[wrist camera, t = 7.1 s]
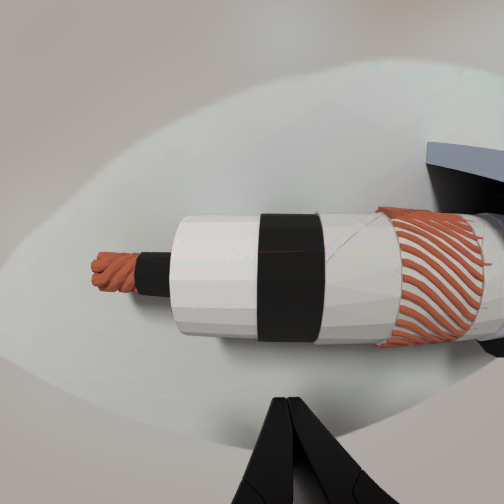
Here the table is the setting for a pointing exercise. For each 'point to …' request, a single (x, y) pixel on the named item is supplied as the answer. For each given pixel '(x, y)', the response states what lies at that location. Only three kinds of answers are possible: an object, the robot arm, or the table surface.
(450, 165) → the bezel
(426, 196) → the table surface
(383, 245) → the cable
